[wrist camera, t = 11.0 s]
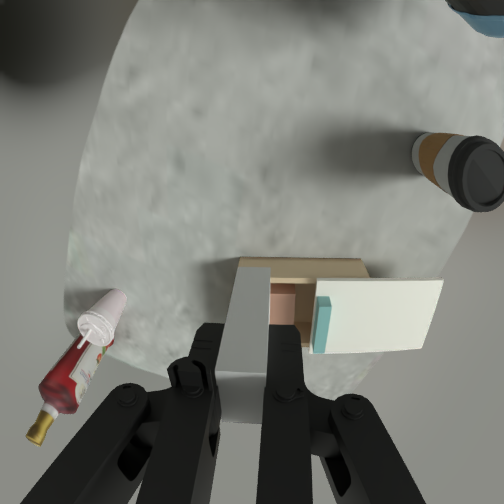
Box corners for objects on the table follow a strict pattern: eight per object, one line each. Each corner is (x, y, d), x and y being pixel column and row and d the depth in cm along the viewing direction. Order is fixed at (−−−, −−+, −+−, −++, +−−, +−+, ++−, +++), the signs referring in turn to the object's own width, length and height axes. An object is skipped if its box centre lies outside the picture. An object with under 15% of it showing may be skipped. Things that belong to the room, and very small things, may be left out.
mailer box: (240, 256, 47) (235, 276, 42) (360, 258, 46) (370, 278, 41) (242, 321, 52) (238, 345, 47) (349, 322, 51) (356, 346, 46)
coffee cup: (429, 193, 41) (484, 231, 27) (392, 156, 39) (444, 180, 26) (461, 153, 38) (524, 177, 24) (426, 113, 36) (487, 121, 23)
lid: (316, 277, 41) (319, 290, 38) (441, 277, 39) (450, 289, 37) (308, 350, 46) (310, 365, 43) (419, 345, 45) (426, 358, 42)
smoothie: (103, 276, 51) (62, 325, 38) (136, 289, 51) (101, 342, 39) (101, 305, 53) (65, 354, 41) (131, 317, 54) (100, 370, 41)
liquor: (119, 347, 58) (60, 461, 32) (88, 339, 58) (24, 443, 32) (115, 319, 55) (43, 437, 29) (82, 311, 55) (5, 418, 29)
